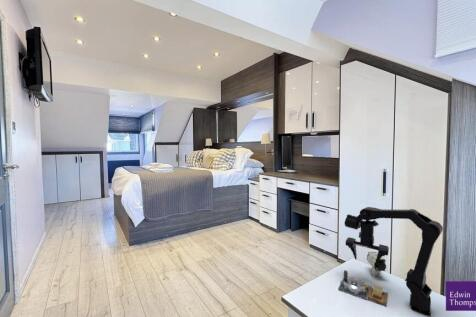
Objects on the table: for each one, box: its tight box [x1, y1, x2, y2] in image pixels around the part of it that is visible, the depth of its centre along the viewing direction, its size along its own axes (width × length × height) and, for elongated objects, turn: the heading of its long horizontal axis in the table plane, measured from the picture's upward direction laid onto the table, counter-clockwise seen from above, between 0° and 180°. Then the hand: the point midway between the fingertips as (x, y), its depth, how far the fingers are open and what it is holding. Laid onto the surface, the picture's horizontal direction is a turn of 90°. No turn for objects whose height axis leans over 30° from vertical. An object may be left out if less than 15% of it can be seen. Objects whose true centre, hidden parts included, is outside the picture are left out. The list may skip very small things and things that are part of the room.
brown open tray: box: [366, 286, 389, 307], centre depth 105 cm, size 7×9×2 cm
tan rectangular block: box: [372, 284, 384, 301], centre depth 105 cm, size 4×5×4 cm
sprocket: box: [339, 270, 369, 295], centre depth 112 cm, size 12×12×6 cm
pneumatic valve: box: [366, 251, 387, 277], centre depth 124 cm, size 6×12×12 cm, turn 174°
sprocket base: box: [337, 279, 370, 301], centre depth 112 cm, size 12×12×1 cm
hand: (365, 262), depth 115 cm, fingers open, 9 cm apart
